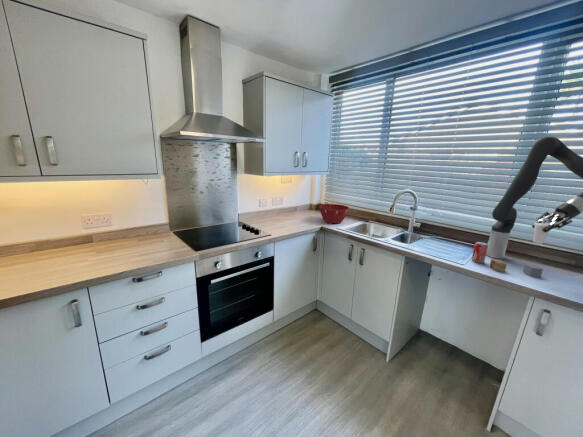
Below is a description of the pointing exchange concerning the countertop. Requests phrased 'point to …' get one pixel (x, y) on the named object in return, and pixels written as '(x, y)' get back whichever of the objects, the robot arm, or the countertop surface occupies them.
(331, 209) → the mixing bowl
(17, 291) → the countertop surface
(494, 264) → the walnut block
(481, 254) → the soda can
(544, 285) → the countertop surface
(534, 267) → the charcoal block
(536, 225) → the smoothie
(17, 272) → the countertop surface
